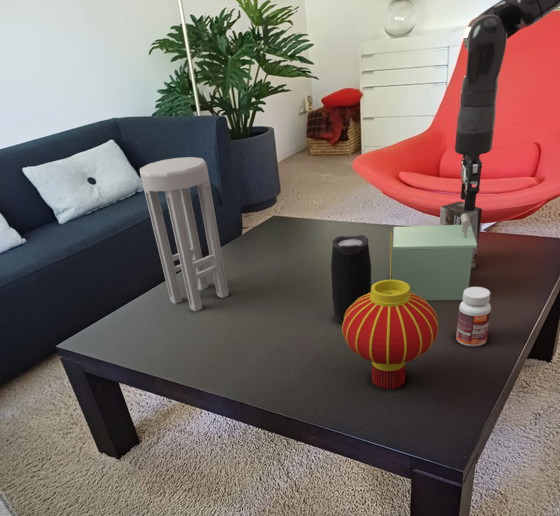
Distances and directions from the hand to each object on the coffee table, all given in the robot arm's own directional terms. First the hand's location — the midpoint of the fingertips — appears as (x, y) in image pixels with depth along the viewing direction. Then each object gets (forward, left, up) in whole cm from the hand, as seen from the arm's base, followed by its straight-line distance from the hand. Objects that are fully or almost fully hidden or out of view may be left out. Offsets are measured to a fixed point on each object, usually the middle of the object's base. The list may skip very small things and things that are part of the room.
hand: (467, 204), depth 120 cm
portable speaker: (+25, +16, -22) cm, 37 cm away
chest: (+7, 0, -21) cm, 23 cm away
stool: (+67, +5, -22) cm, 71 cm away
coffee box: (-1, -15, -22) cm, 26 cm away
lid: (+7, 0, -8) cm, 11 cm away
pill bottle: (-1, +25, -22) cm, 33 cm away
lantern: (+16, +41, -22) cm, 49 cm away
